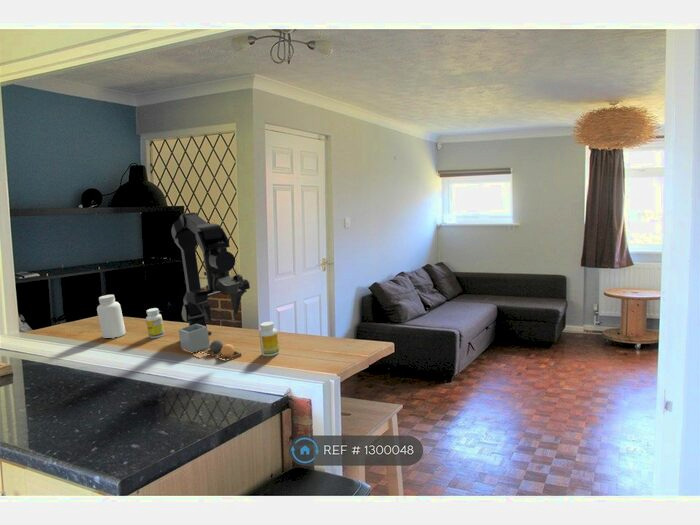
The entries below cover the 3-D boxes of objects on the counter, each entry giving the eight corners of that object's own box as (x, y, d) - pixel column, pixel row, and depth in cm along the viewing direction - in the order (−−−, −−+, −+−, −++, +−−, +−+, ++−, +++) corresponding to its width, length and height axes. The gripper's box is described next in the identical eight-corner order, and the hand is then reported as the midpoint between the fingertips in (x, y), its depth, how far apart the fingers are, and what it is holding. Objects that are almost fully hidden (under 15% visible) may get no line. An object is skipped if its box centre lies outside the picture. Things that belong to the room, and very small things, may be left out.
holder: (205, 353, 176) (204, 351, 176) (220, 348, 180) (220, 345, 180) (225, 361, 167) (225, 359, 167) (241, 355, 171) (241, 353, 171)
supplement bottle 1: (147, 336, 200) (142, 310, 198) (162, 332, 203) (157, 306, 201) (151, 339, 196) (147, 312, 194) (167, 335, 199) (162, 309, 197)
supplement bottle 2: (258, 354, 171) (254, 324, 169) (273, 348, 174) (269, 319, 172) (268, 358, 167) (263, 327, 165) (283, 352, 170) (279, 322, 168)
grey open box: (181, 349, 182) (178, 329, 180) (199, 343, 186) (196, 323, 185) (191, 353, 177) (188, 332, 176) (210, 347, 181) (206, 326, 180)
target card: (191, 355, 176) (191, 354, 176) (200, 352, 178) (200, 351, 178) (199, 358, 172) (199, 357, 172) (208, 355, 174) (208, 354, 174)
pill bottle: (102, 335, 207) (94, 296, 204) (125, 330, 210) (118, 292, 207) (102, 341, 200) (94, 300, 197) (126, 336, 203) (119, 296, 200)
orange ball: (219, 357, 171) (217, 345, 170) (230, 353, 174) (228, 341, 173) (226, 360, 168) (224, 347, 168) (237, 355, 171) (236, 343, 170)
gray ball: (208, 353, 176) (206, 341, 175) (219, 349, 179) (217, 337, 178) (215, 355, 173) (213, 343, 172) (226, 351, 176) (224, 339, 175)
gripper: (200, 276, 154) (209, 330, 157) (256, 262, 166) (263, 313, 169) (181, 273, 162) (190, 325, 165) (236, 260, 174) (243, 308, 177)
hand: (223, 318), depth 169 cm, fingers open, 9 cm apart
